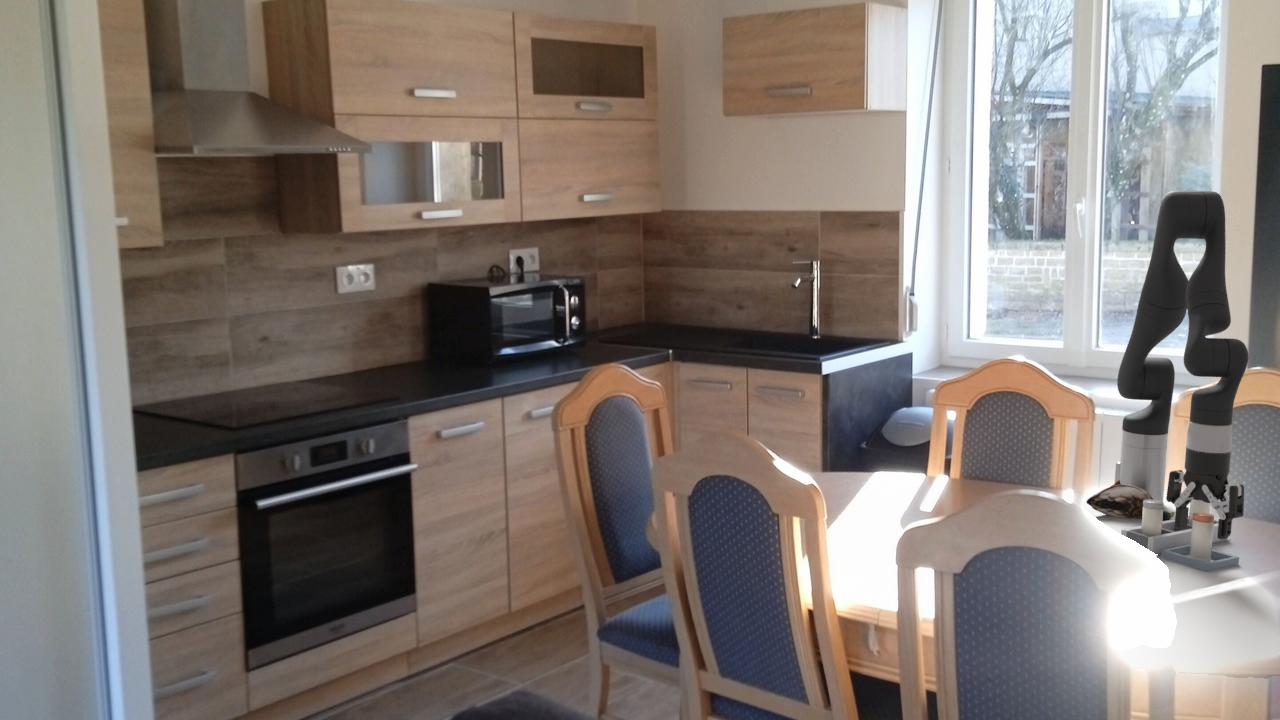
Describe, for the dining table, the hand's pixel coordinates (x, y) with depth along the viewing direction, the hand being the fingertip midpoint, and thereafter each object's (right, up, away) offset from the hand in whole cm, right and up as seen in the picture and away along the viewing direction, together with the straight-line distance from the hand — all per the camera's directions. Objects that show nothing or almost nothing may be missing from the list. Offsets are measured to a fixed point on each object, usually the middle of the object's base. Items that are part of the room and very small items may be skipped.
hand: (1201, 532), depth 229 cm
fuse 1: (-6, -4, +9) cm, 11 cm away
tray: (0, -7, +1) cm, 7 cm away
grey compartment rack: (0, -5, +13) cm, 13 cm away
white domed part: (+6, -3, +16) cm, 17 cm away
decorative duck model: (-2, -2, +30) cm, 30 cm away
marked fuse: (0, -6, +1) cm, 6 cm away
